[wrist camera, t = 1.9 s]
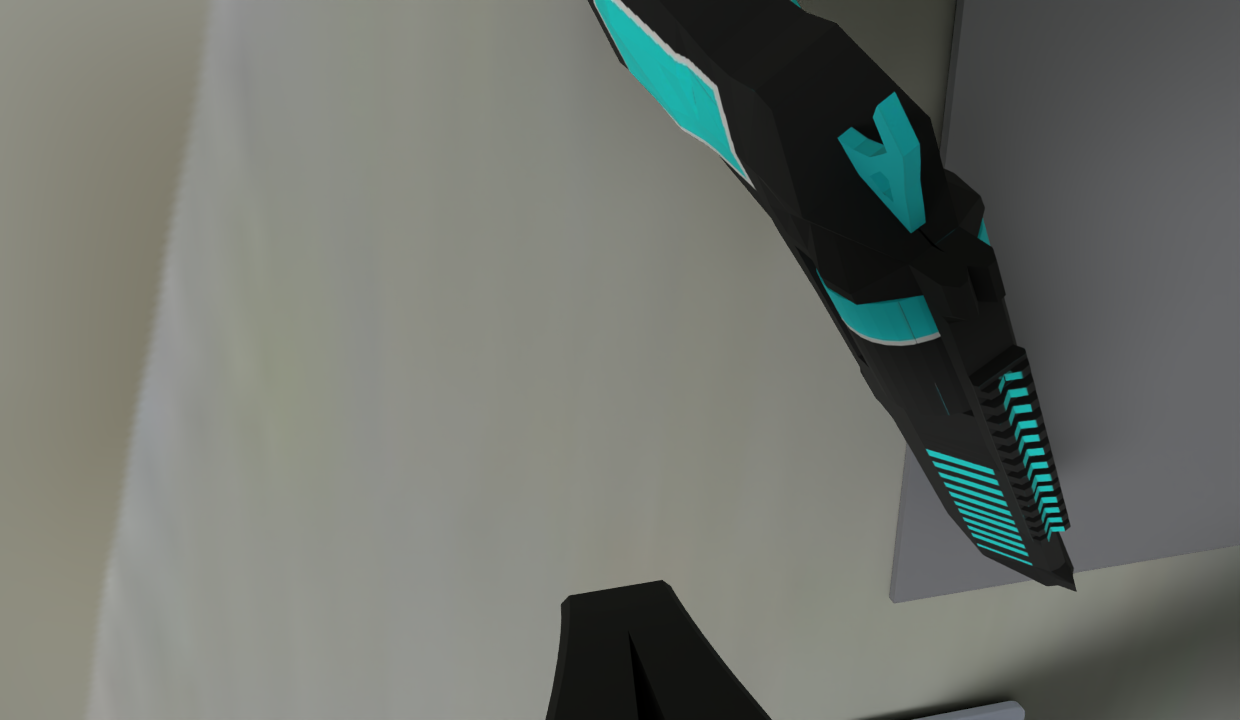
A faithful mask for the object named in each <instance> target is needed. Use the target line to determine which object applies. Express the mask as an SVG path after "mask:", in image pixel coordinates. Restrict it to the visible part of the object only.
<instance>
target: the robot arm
mask: <svg viewBox="0 0 1240 720" xmlns="http://www.w3.org/2000/svg"><path fill="white" fill-rule="evenodd" d="M1024 717H1025V710H1024V709H1023V708H1022V707H1021V705H1020V704H1019V703H1018V702H1016V701H1006V702H1001V703H996V704H990V705H985V706H980V707H975V708H970V709H965V710H959V711H954V712H949V713H944V714H939V715H933V716H928V717H923V718H918V719H913V720H1024ZM546 720H772V719H771V718H770V717H769V716H768V714H767V713H766V712H765V711H764V710H763V709H762V707H761V706H760V705H759V704H758V703H757V701H756V700H755V699H754V698H753V697H752V695H751V694H750V693H749V692H748V691H747V690H746V688H745V687H744V686H743V685H742V684H741V682H740V681H739V680H738V679H737V678H736V676H735V675H734V674H733V673H732V671H731V670H730V669H729V668H728V666H727V665H726V664H725V663H724V661H723V660H722V659H721V658H720V656H719V655H718V654H717V652H716V651H715V650H714V648H713V647H712V646H711V644H710V643H709V642H708V640H707V639H706V638H705V636H704V635H703V634H702V632H701V631H700V629H699V628H698V627H697V625H696V624H695V623H694V621H693V620H692V618H691V617H690V615H689V614H688V612H687V611H686V610H685V608H684V606H683V605H682V603H681V602H680V600H679V599H678V597H677V596H676V594H675V593H674V591H673V589H672V587H671V586H670V585H668V584H667V583H666V582H664V581H663V580H660V581H654V582H648V583H642V584H636V585H630V586H624V587H618V588H612V589H606V590H600V591H594V592H588V593H582V594H576V595H570V596H568V597H567V598H566V599H565V601H564V602H563V603H562V604H561V634H560V644H559V652H558V659H557V665H556V671H555V677H554V683H553V688H552V693H551V698H550V702H549V707H548V711H547V715H546Z"/></svg>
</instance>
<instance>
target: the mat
mask: <svg viewBox="0 0 1240 720" xmlns="http://www.w3.org/2000/svg"><path fill="white" fill-rule="evenodd" d="M940 157H941V161H942V165H943V168H945V169H947V170H949V171H951V172H953V173H955V174H956V175H957V176H958V177H960V178H961V179H962V180H963V181H964V182H965V183H967V184H968V185H969V186H970V187H971V188H972V189H973V190H975V191H976V192H977V193H978V194H979V195H980V196H981V198H982V201H983V204H984V206H985V211H984V214H983V220H984V224H985V227H986V231H987V235H988V239H989V242H990V246H991V247H993V250H994V253H995V256H996V259H997V263H998V266H999V270H1000V274H1001V278H1002V281H1003V285H1004V289H1005V293H1006V296H1004V298H1005V302H1006V306H1007V310H1008V313H1009V317H1010V321H1011V324H1012V328H1013V332H1014V336H1015V339H1016V343H1017V346H1020V347H1022V348H1025V350H1026V354H1027V358H1028V361H1029V364H1030V368H1031V373H1032V377H1033V380H1034V383H1035V387H1036V393H1037V396H1038V399H1039V403H1040V408H1041V411H1042V415H1043V419H1044V424H1045V427H1046V431H1047V436H1048V439H1049V442H1050V446H1051V451H1052V454H1053V458H1054V462H1055V466H1056V470H1057V474H1058V478H1059V482H1060V487H1061V490H1062V493H1063V498H1064V502H1065V505H1066V510H1067V513H1068V517H1069V521H1070V525H1071V527H1070V528H1069V529H1067V530H1066V531H1059V533H1060V535H1061V538H1062V540H1063V543H1064V545H1065V547H1066V550H1067V552H1068V555H1069V557H1070V560H1071V562H1072V565H1073V567H1074V571H1073V573H1076V572H1082V571H1088V570H1094V569H1100V568H1106V567H1112V566H1118V565H1124V564H1130V563H1135V562H1141V561H1147V560H1153V559H1159V558H1165V557H1171V556H1177V555H1183V554H1189V553H1194V552H1200V551H1206V550H1212V549H1218V548H1224V547H1230V546H1236V545H1240V0H957V6H956V14H955V23H954V32H953V41H952V50H951V58H950V67H949V76H948V85H947V94H946V103H945V111H944V120H943V129H942V138H941V147H940ZM1029 580H1033V579H1031V578H1029V577H1027V576H1025V575H1023V574H1021V573H1019V572H1017V571H1015V570H1013V569H1010V568H1008V567H1006V566H1004V565H1002V564H1000V563H998V562H996V561H994V560H992V559H990V558H988V557H986V556H984V555H983V554H982V553H981V552H980V551H979V550H978V549H977V547H976V546H975V545H974V544H973V543H972V542H971V540H970V539H969V538H968V537H967V536H966V534H965V533H964V532H963V531H962V530H961V529H960V527H959V526H958V525H957V524H956V523H955V521H954V520H953V519H952V518H951V517H950V516H949V514H948V513H947V511H946V510H945V508H944V506H943V504H942V503H941V501H940V499H939V497H938V496H937V494H936V492H935V491H934V489H933V487H932V485H931V484H930V482H929V480H928V478H927V477H926V475H925V473H924V471H923V470H922V468H921V466H920V464H919V463H918V461H917V459H916V457H915V456H914V454H913V452H912V450H911V449H910V447H909V445H908V443H907V446H906V455H905V464H904V473H903V481H902V490H901V499H900V508H899V517H898V525H897V534H896V543H895V552H894V561H893V570H892V578H891V587H890V596H889V598H890V599H891V600H892V602H893V603H899V602H905V601H911V600H917V599H923V598H929V597H935V596H941V595H947V594H953V593H958V592H964V591H970V590H976V589H982V588H988V587H994V586H1000V585H1006V584H1012V583H1017V582H1023V581H1029Z"/></svg>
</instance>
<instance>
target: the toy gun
mask: <svg viewBox="0 0 1240 720" xmlns="http://www.w3.org/2000/svg"><path fill="white" fill-rule="evenodd" d="M588 2H589V4H590V6H591V8H592V10H593V11H594V13H595V15H596V17H597V19H598V21H599V23H600V25H601V27H602V29H603V31H604V33H605V34H606V36H607V38H608V40H609V42H610V44H611V46H612V48H613V50H614V52H615V54H616V56H617V57H618V59H619V61H620V63H622V64H623V65H624V66H625V67H626V68H627V69H628V70H629V71H630V72H631V73H632V74H633V75H634V76H635V77H636V79H637V80H638V81H639V82H640V83H641V84H642V85H643V86H644V87H645V88H646V89H647V90H648V91H649V92H650V93H651V94H652V95H653V96H654V97H655V98H656V100H657V101H658V102H659V103H660V104H661V106H662V107H663V108H664V109H665V110H666V112H667V113H668V114H669V115H670V116H671V118H672V119H673V120H674V121H675V122H676V124H677V125H678V126H679V127H680V129H681V130H683V131H685V132H686V133H688V134H689V135H691V136H693V137H694V138H696V139H698V140H699V141H701V142H702V143H704V144H706V145H707V146H708V147H710V148H711V149H712V150H714V151H715V152H716V153H717V154H718V155H719V156H720V157H721V159H722V160H723V161H724V162H725V163H726V165H727V166H728V167H729V168H730V169H731V171H732V172H733V173H734V174H735V175H736V176H737V178H738V179H739V180H740V181H741V182H742V184H743V185H744V186H745V187H746V188H747V190H748V191H749V192H750V193H751V194H752V196H753V197H754V198H755V199H756V200H757V202H758V203H759V204H760V205H761V206H762V208H763V209H764V210H765V211H766V212H767V214H768V215H769V216H770V217H771V218H772V220H773V222H774V224H775V226H776V227H777V229H778V231H779V233H780V234H781V236H782V237H783V239H784V241H785V242H786V244H787V245H788V247H789V249H790V250H791V252H792V253H793V255H794V257H795V258H796V260H797V261H798V263H799V265H800V266H801V268H802V269H803V271H804V273H805V274H806V276H807V277H808V279H809V281H810V282H811V284H812V285H813V287H814V289H815V290H816V292H817V294H818V295H819V297H820V299H821V301H822V302H823V304H824V306H825V307H826V309H827V311H828V313H829V314H830V316H831V318H832V320H833V321H834V323H835V325H836V327H837V328H838V330H839V332H840V333H841V335H842V337H843V339H844V340H845V342H846V344H847V346H848V347H849V349H850V351H851V352H852V354H853V356H854V358H855V359H856V361H857V363H858V364H859V366H860V370H861V373H862V375H863V377H864V379H865V380H866V382H867V384H868V385H869V387H870V389H871V391H872V392H873V394H874V396H875V397H876V399H877V400H878V401H879V402H880V403H881V404H882V405H883V406H884V408H885V409H886V410H887V411H888V413H889V414H890V415H891V416H892V418H893V419H894V421H895V422H896V424H897V426H898V428H899V429H900V431H901V433H902V435H903V436H904V438H905V440H906V442H907V443H908V445H909V447H910V449H911V450H912V452H913V454H914V456H915V457H916V459H917V461H918V463H919V464H920V466H921V468H922V470H923V471H924V473H925V475H926V477H927V478H928V480H929V482H930V484H931V485H932V487H933V489H934V491H935V492H936V494H937V496H938V497H939V499H940V501H941V503H942V504H943V506H944V508H945V510H946V511H947V513H948V514H949V516H950V517H951V518H952V519H953V520H954V521H955V523H956V524H957V525H958V526H959V527H960V529H961V530H962V531H963V532H964V533H965V534H966V536H967V537H968V538H969V539H970V540H971V542H972V543H973V544H974V545H975V546H976V547H977V549H978V550H979V551H980V552H981V553H982V554H983V555H984V556H986V557H988V558H990V559H992V560H994V561H996V562H998V563H1000V564H1002V565H1004V566H1006V567H1008V568H1010V569H1013V570H1015V571H1017V572H1019V573H1021V574H1023V575H1025V576H1027V577H1029V578H1031V579H1033V580H1035V581H1037V582H1039V583H1041V584H1043V585H1045V586H1055V585H1059V586H1062V587H1065V588H1067V589H1070V590H1073V591H1076V587H1075V583H1074V579H1073V571H1074V567H1073V565H1072V562H1071V560H1070V557H1069V555H1068V552H1067V550H1066V547H1065V545H1064V543H1063V540H1062V538H1061V535H1060V533H1059V531H1066V530H1067V529H1069V528H1070V527H1071V525H1070V521H1069V517H1068V513H1067V510H1066V505H1065V502H1064V498H1063V493H1062V490H1061V487H1060V482H1059V478H1058V474H1057V470H1056V466H1055V462H1054V458H1053V454H1052V451H1051V446H1050V442H1049V439H1048V436H1047V431H1046V427H1045V424H1044V419H1043V415H1042V411H1041V408H1040V403H1039V399H1038V396H1037V393H1036V387H1035V383H1034V380H1033V377H1032V373H1031V368H1030V364H1029V361H1028V358H1027V354H1026V350H1025V348H1022V347H1020V346H1017V343H1016V339H1015V336H1014V332H1013V328H1012V324H1011V321H1010V317H1009V313H1008V310H1007V306H1006V302H1005V298H1004V296H1006V293H1005V289H1004V285H1003V281H1002V278H1001V274H1000V270H999V266H998V263H997V259H996V256H995V253H994V250H993V247H991V246H990V242H989V239H988V235H987V231H986V227H985V224H984V220H983V214H984V211H985V206H984V204H983V201H982V198H981V196H980V195H979V194H978V193H977V192H976V191H975V190H973V189H972V188H971V187H970V186H969V185H968V184H967V183H965V182H964V181H963V180H962V179H961V178H960V177H958V176H957V175H956V174H955V173H953V172H951V171H949V170H947V169H945V168H943V165H942V161H941V157H940V153H939V150H938V146H937V142H936V138H935V134H934V131H933V127H932V123H931V119H930V117H929V116H928V115H927V114H926V113H925V112H924V111H923V110H922V109H921V108H920V107H919V106H918V105H917V104H916V103H915V102H914V101H913V100H912V99H911V98H910V97H909V96H908V95H907V94H906V93H905V92H904V91H903V90H902V89H901V88H900V87H899V86H898V85H897V84H896V83H895V82H894V81H893V80H892V79H891V78H890V77H889V76H888V75H887V74H886V73H885V72H884V71H883V70H882V69H881V68H880V67H879V66H878V65H877V64H876V63H875V62H874V61H873V60H872V59H871V58H870V57H869V56H868V55H867V54H866V53H865V52H864V51H863V50H862V49H861V48H860V47H859V46H858V45H857V44H856V43H855V42H854V41H853V40H852V39H851V38H850V37H849V36H848V35H847V34H846V33H845V32H844V31H843V30H842V29H841V28H840V27H839V25H838V24H837V23H834V22H831V21H829V20H826V19H823V18H820V17H817V16H815V15H812V14H809V13H806V12H805V11H804V10H802V9H801V7H800V5H799V4H798V2H797V0H588ZM1076 592H1077V591H1076Z"/></svg>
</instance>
